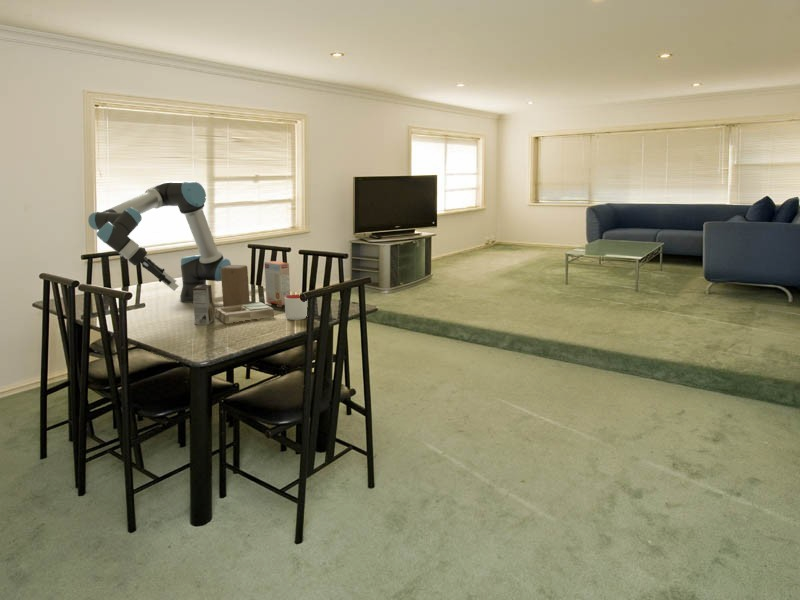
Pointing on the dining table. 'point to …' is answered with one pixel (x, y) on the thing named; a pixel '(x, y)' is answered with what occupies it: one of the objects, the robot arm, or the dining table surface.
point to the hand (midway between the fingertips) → (175, 285)
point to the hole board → (244, 312)
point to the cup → (295, 307)
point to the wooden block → (235, 285)
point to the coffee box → (203, 304)
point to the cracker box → (277, 282)
